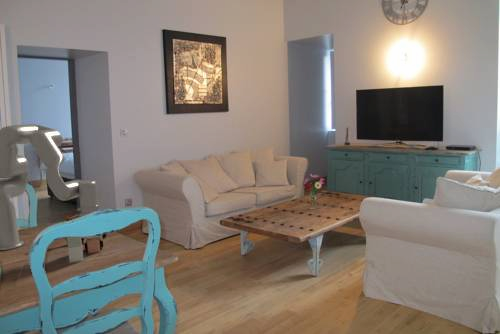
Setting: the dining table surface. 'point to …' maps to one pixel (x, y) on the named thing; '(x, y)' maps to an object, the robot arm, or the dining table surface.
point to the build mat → (77, 261)
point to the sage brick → (74, 242)
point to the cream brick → (76, 254)
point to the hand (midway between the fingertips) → (94, 249)
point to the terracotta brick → (93, 244)
